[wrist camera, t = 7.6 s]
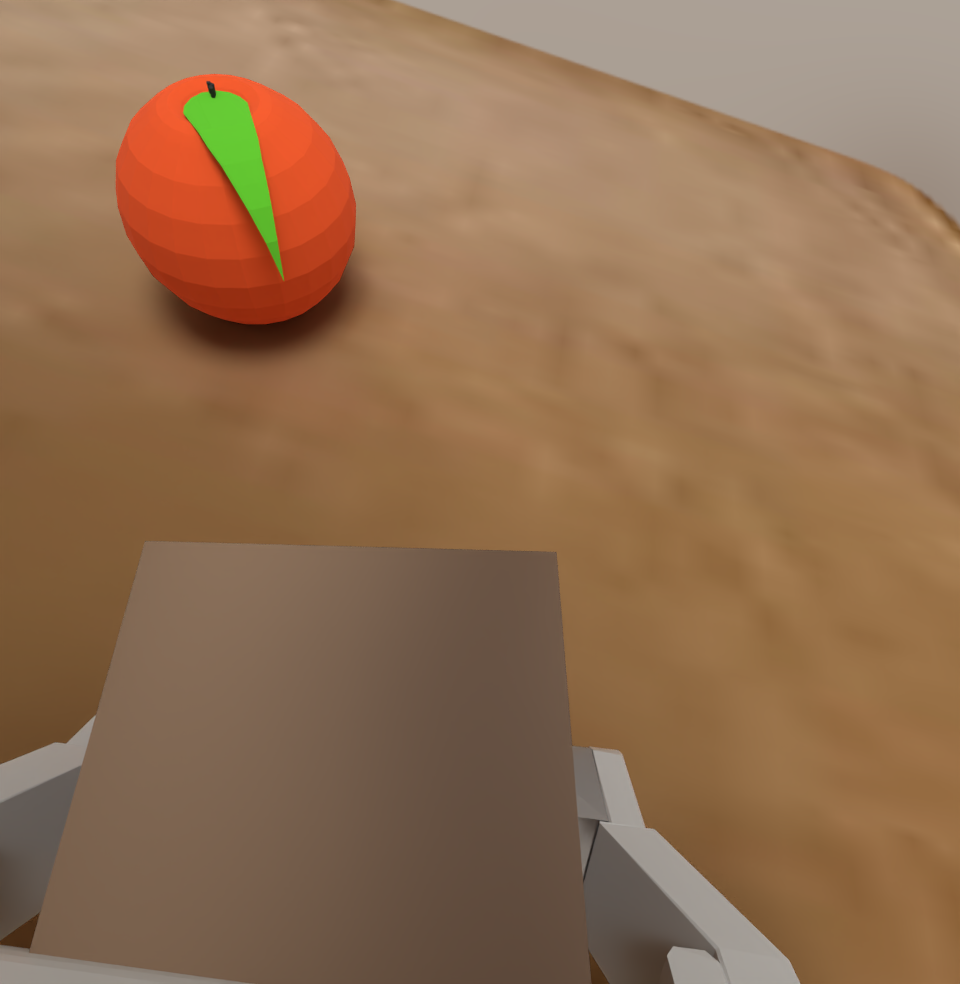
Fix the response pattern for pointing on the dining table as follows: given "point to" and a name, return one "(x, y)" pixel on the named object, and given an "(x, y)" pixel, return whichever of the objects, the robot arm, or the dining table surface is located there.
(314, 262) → the clementine
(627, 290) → the dining table surface
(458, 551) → the walnut post
